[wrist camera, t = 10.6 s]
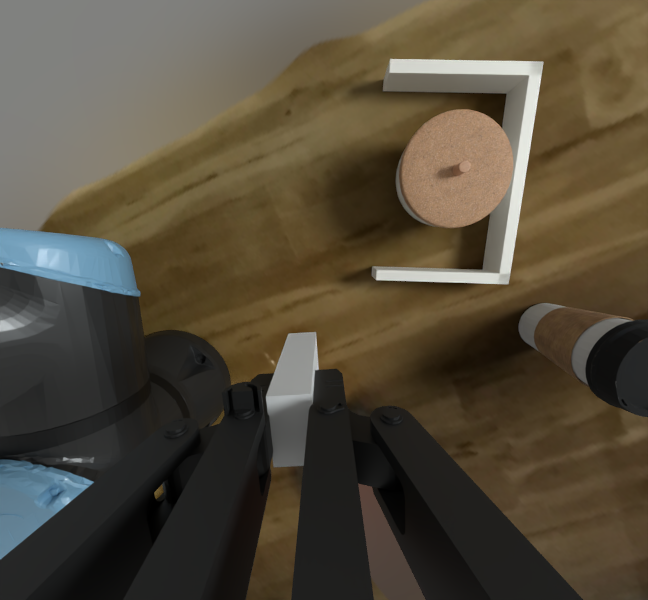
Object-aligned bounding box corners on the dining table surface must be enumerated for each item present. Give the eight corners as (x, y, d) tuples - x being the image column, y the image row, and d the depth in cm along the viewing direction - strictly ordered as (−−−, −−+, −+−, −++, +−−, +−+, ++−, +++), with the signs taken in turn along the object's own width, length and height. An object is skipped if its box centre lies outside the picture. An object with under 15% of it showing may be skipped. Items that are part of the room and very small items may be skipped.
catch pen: (371, 275, 39) (376, 280, 35) (383, 79, 34) (390, 59, 30) (490, 279, 39) (508, 284, 35) (519, 81, 34) (543, 61, 30)
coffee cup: (495, 321, 40) (591, 372, 25) (551, 279, 38) (686, 307, 24) (531, 366, 41) (643, 440, 26) (586, 327, 40) (736, 381, 25)
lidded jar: (374, 157, 36) (389, 129, 27) (462, 120, 35) (509, 79, 26) (402, 242, 38) (424, 244, 29) (486, 210, 37) (537, 202, 28)
